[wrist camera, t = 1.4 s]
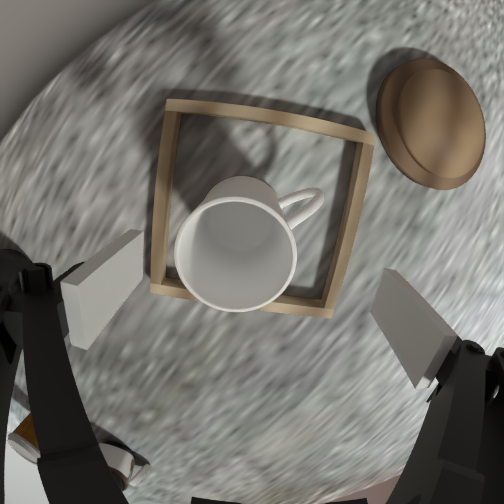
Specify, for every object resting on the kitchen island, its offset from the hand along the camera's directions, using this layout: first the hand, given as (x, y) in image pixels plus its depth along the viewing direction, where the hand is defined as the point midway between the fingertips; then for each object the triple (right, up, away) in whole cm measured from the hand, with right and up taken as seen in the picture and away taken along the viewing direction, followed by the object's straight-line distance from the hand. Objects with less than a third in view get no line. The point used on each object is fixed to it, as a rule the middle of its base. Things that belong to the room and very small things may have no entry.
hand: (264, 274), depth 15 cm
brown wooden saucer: (+20, +16, +11) cm, 28 cm away
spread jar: (-27, -42, +32) cm, 60 cm away
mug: (0, +5, +15) cm, 16 cm away
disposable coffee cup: (-48, -36, +30) cm, 67 cm away
